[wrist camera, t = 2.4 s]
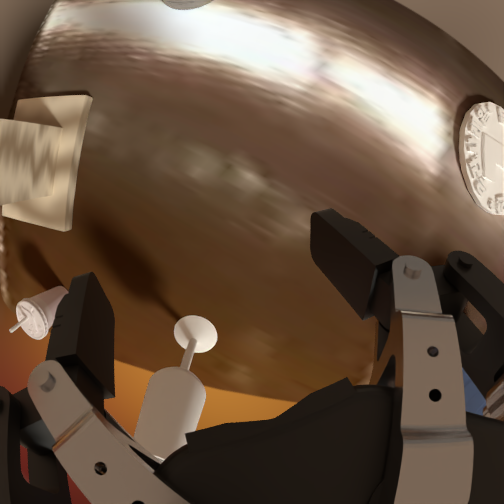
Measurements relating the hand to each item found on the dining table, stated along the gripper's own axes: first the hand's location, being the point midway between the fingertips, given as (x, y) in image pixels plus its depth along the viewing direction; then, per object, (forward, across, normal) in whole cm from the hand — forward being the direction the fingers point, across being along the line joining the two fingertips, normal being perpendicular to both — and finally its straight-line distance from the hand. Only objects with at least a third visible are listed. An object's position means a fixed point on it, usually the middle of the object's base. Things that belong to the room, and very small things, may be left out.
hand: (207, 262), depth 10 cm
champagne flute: (+21, +3, +27) cm, 35 cm away
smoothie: (+30, +24, +20) cm, 44 cm away
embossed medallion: (+14, -51, +5) cm, 53 cm away
